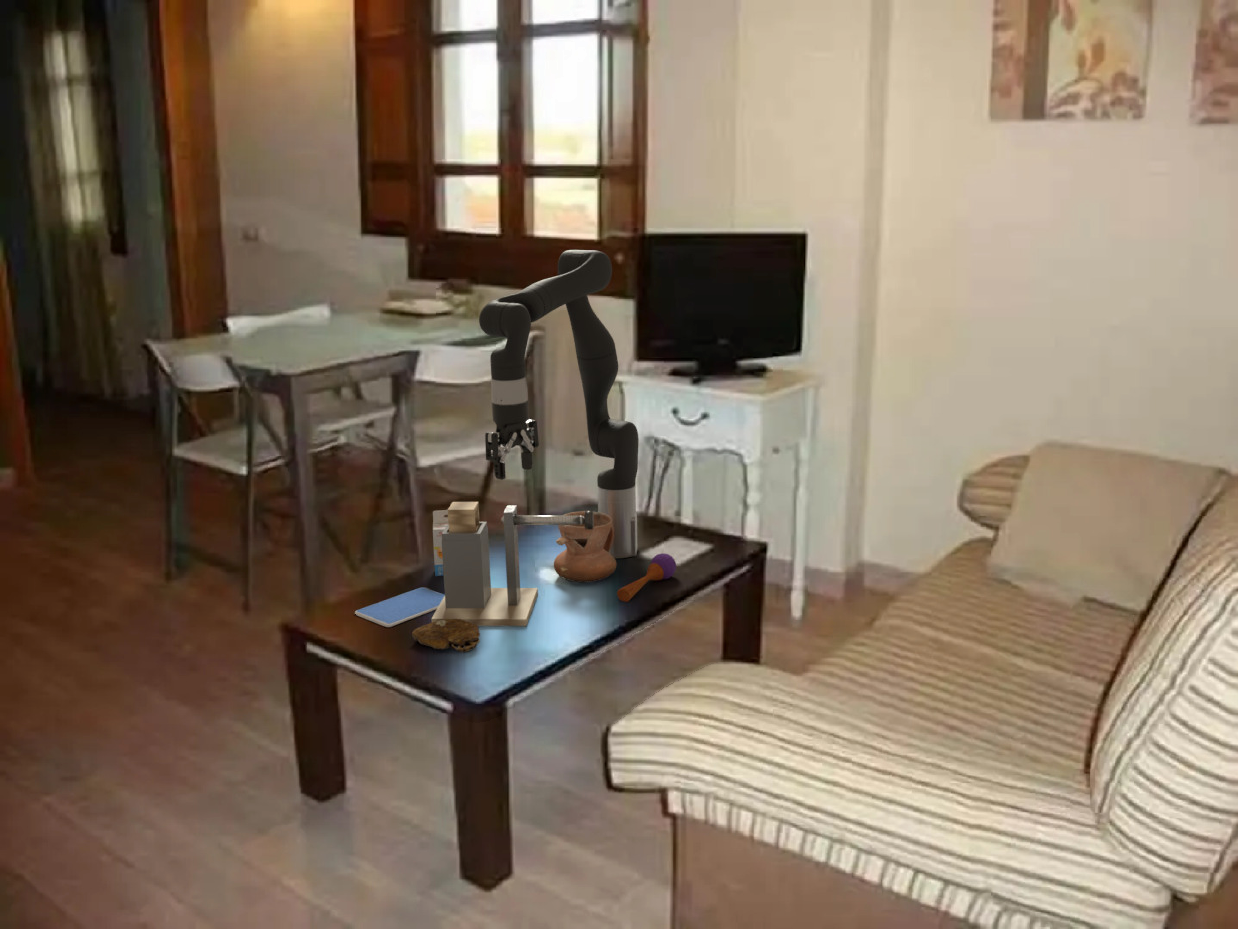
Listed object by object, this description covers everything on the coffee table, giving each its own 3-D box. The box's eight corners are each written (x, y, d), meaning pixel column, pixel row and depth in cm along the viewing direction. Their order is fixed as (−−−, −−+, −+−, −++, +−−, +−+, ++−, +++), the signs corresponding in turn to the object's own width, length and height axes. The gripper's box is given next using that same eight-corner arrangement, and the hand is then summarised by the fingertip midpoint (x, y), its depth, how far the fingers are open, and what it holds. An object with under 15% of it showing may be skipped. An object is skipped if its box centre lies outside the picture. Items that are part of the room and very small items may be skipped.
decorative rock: (498, 642, 242) (441, 630, 250) (497, 623, 242) (440, 612, 249) (462, 660, 233) (404, 647, 241) (461, 640, 232) (403, 628, 240)
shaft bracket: (520, 597, 260) (516, 505, 255) (517, 605, 255) (512, 512, 250) (511, 597, 260) (507, 505, 255) (508, 605, 256) (503, 512, 250)
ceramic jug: (581, 594, 265) (581, 533, 262) (537, 578, 275) (536, 520, 271) (635, 574, 278) (636, 516, 274) (591, 559, 288) (591, 503, 284)
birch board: (537, 594, 266) (537, 588, 265) (526, 626, 248) (526, 619, 248) (449, 593, 267) (449, 587, 267) (431, 625, 250) (431, 618, 249)
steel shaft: (593, 526, 254) (593, 508, 253) (592, 532, 250) (591, 514, 249) (503, 526, 256) (502, 508, 255) (500, 532, 252) (499, 514, 251)
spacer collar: (479, 530, 257) (478, 501, 255) (475, 538, 252) (473, 509, 250) (454, 530, 257) (452, 501, 256) (449, 538, 252) (447, 509, 250)
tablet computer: (422, 590, 271) (422, 585, 271) (459, 603, 263) (459, 598, 263) (353, 616, 257) (352, 610, 257) (389, 630, 249) (388, 625, 249)
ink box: (435, 577, 278) (431, 516, 274) (435, 569, 283) (431, 510, 279) (471, 574, 279) (468, 514, 275) (471, 567, 284) (467, 508, 280)
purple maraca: (609, 582, 261) (656, 549, 277) (615, 607, 263) (661, 573, 278) (631, 582, 258) (677, 549, 274) (637, 608, 259) (683, 573, 275)
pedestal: (491, 594, 262) (487, 521, 258) (484, 608, 254) (480, 533, 250) (453, 593, 263) (449, 521, 259) (445, 608, 255) (441, 533, 250)
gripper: (500, 408, 239) (505, 485, 243) (545, 394, 250) (549, 468, 254) (473, 403, 243) (478, 479, 247) (518, 390, 254) (522, 463, 259)
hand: (514, 473), depth 251 cm, fingers open, 8 cm apart
